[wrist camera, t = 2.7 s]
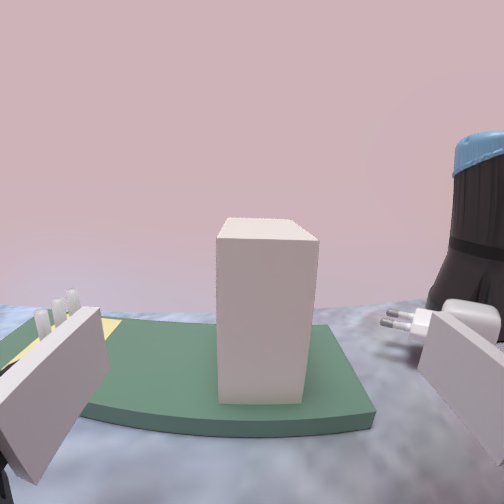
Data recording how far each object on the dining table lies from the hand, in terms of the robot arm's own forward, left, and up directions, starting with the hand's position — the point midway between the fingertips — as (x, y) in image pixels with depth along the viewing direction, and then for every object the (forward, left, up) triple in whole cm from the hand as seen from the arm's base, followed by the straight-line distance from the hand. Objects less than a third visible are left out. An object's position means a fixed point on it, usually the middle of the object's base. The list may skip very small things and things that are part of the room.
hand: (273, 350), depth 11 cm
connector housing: (0, -10, -7) cm, 12 cm away
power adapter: (-16, -10, -8) cm, 21 cm away
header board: (+8, -10, -8) cm, 15 cm away
